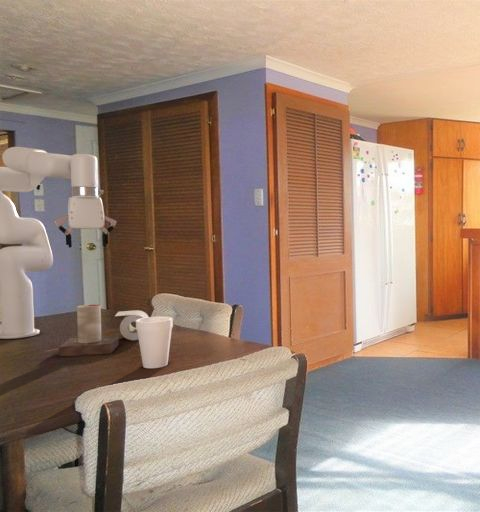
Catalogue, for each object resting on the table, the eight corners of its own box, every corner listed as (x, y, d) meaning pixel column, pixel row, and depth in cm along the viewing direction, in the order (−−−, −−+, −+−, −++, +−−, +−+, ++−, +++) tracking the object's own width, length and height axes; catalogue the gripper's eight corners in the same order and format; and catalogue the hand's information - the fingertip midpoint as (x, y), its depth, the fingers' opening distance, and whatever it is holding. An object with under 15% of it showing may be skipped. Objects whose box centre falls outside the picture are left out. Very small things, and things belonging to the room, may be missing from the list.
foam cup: (144, 361, 152) (143, 316, 152) (177, 360, 153) (176, 316, 152) (131, 370, 143) (130, 322, 142) (166, 369, 144) (165, 322, 143)
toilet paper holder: (118, 310, 187) (164, 308, 192) (119, 334, 188) (164, 332, 193) (114, 316, 176) (162, 313, 181) (114, 342, 176) (163, 339, 181)
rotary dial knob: (75, 343, 161) (74, 307, 160) (81, 339, 167) (80, 303, 166) (98, 342, 163) (97, 306, 162) (103, 338, 169) (102, 303, 168)
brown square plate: (58, 356, 157) (58, 346, 157) (70, 347, 169) (70, 337, 169) (110, 353, 161) (110, 343, 161) (118, 344, 173) (118, 335, 172)
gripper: (114, 194, 176) (115, 245, 177) (53, 193, 167) (55, 247, 167) (116, 193, 170) (118, 246, 171) (53, 192, 160) (56, 248, 161)
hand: (87, 246), depth 169 cm, fingers open, 9 cm apart
